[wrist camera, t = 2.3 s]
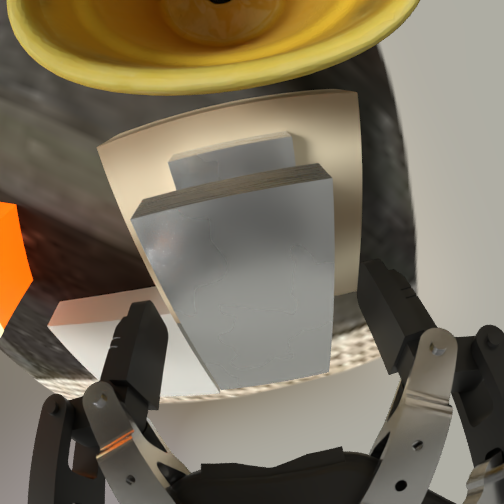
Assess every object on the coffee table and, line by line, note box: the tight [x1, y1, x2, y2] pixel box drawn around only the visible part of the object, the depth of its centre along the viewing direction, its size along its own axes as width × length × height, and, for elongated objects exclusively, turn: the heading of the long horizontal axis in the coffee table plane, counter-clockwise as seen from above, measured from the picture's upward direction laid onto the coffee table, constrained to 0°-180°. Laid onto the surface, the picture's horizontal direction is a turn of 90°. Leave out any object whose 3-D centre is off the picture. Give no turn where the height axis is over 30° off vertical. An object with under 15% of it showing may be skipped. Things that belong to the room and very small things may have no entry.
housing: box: [130, 131, 335, 390], centre depth 11 cm, size 9×5×6 cm, turn 10°
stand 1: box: [48, 286, 220, 396], centre depth 22 cm, size 12×12×3 cm
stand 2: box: [97, 89, 362, 323], centre depth 15 cm, size 12×12×3 cm
